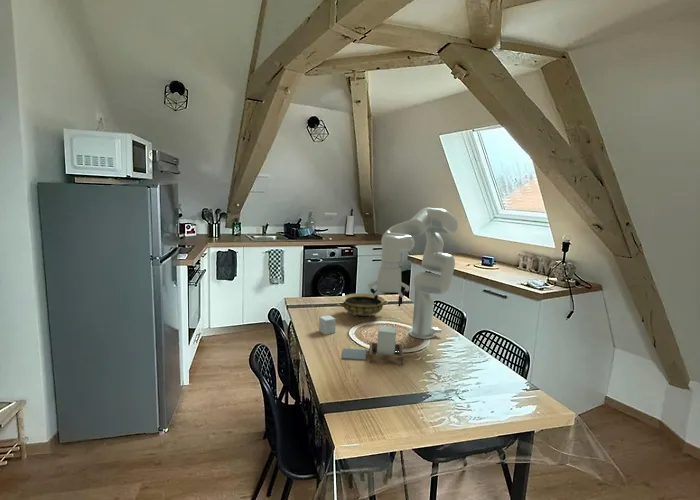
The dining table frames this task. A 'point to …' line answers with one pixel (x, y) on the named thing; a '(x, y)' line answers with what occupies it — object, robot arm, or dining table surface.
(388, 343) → the supplement box
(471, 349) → the dining table surface
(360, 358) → the pad
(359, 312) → the ceramic bowl
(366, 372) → the dining table surface
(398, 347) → the wooden square frame
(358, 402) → the dining table surface
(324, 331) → the product box
